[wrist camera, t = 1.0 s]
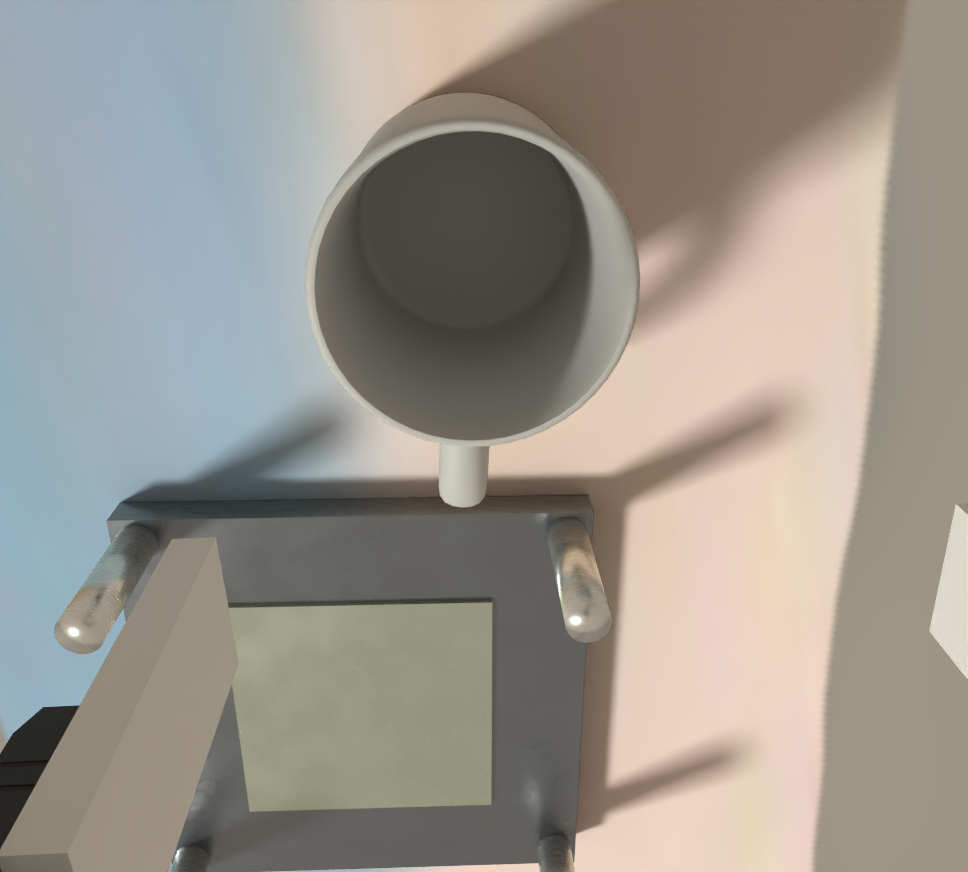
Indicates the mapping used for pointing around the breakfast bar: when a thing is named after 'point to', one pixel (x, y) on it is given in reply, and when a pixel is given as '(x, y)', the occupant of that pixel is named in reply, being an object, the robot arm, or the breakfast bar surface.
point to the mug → (471, 280)
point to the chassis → (380, 676)
